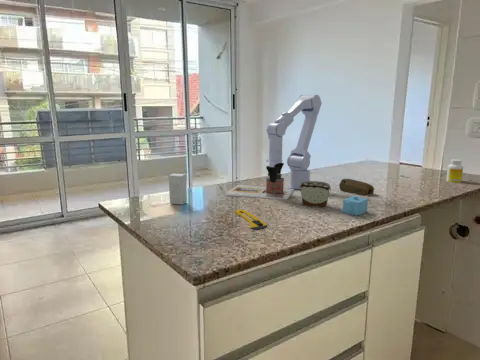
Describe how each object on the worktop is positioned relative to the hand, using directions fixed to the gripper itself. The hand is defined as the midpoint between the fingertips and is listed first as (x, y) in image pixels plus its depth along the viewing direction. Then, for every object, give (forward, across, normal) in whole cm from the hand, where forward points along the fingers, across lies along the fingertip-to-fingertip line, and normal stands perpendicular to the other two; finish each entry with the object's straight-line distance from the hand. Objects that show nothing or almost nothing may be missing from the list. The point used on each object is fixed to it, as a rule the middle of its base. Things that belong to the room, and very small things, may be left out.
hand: (274, 180), depth 165 cm
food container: (+7, +14, +20) cm, 25 cm away
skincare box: (+7, +26, -35) cm, 44 cm away
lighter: (+7, 0, 0) cm, 7 cm away
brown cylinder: (+7, -11, +35) cm, 37 cm away
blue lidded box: (+7, +22, +35) cm, 42 cm away
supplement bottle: (+6, -46, +81) cm, 93 cm away
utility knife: (+7, +39, 0) cm, 40 cm away
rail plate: (+6, 0, -6) cm, 9 cm away
